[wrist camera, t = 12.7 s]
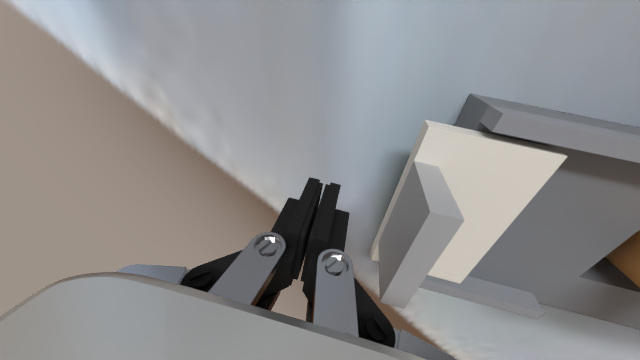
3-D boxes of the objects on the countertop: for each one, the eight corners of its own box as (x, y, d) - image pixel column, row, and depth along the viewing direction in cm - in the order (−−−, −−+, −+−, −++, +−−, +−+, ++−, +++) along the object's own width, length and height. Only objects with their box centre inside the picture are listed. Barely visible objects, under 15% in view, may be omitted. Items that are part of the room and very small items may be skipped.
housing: (992, 199, 11) (1257, 268, 8) (714, 322, 17) (791, 388, 14) (470, 93, 13) (503, 113, 10) (396, 241, 19) (401, 282, 16)
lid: (553, 147, 11) (663, 216, 7) (455, 270, 16) (484, 352, 12) (424, 119, 11) (454, 168, 7) (371, 248, 17) (370, 319, 12)
